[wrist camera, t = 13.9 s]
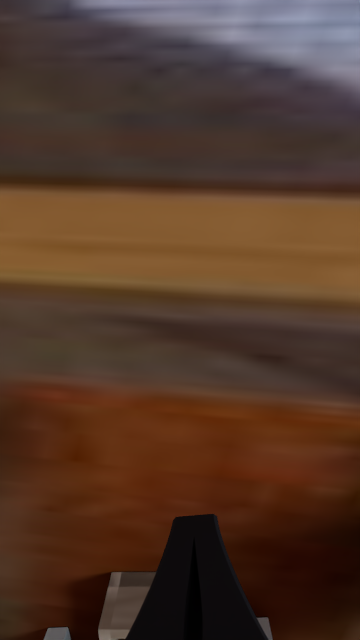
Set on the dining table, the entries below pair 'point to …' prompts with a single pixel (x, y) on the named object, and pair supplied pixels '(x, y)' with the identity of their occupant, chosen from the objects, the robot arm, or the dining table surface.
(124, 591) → the tray
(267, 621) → the small grey side table
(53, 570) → the dining table surface
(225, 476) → the dining table surface
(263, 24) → the dining table surface
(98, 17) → the dining table surface
